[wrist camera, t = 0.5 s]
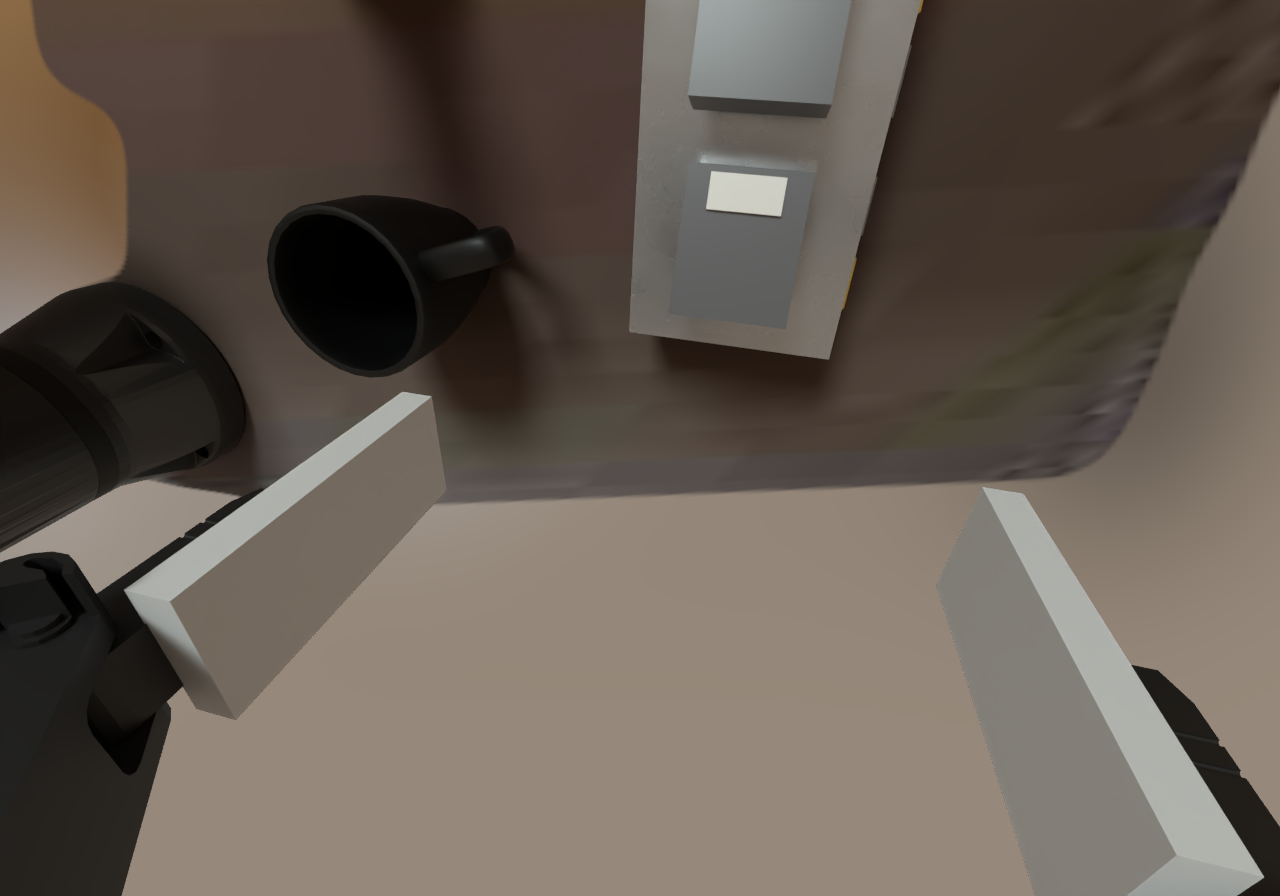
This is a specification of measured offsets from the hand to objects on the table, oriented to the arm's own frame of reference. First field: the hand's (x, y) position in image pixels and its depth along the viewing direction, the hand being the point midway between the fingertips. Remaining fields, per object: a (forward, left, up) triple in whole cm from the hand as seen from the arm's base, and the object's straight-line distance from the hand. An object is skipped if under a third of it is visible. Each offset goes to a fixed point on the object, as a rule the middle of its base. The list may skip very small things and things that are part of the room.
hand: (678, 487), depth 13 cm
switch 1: (0, +10, -14) cm, 18 cm away
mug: (-16, -1, -21) cm, 27 cm away
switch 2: (0, +2, -14) cm, 15 cm away
